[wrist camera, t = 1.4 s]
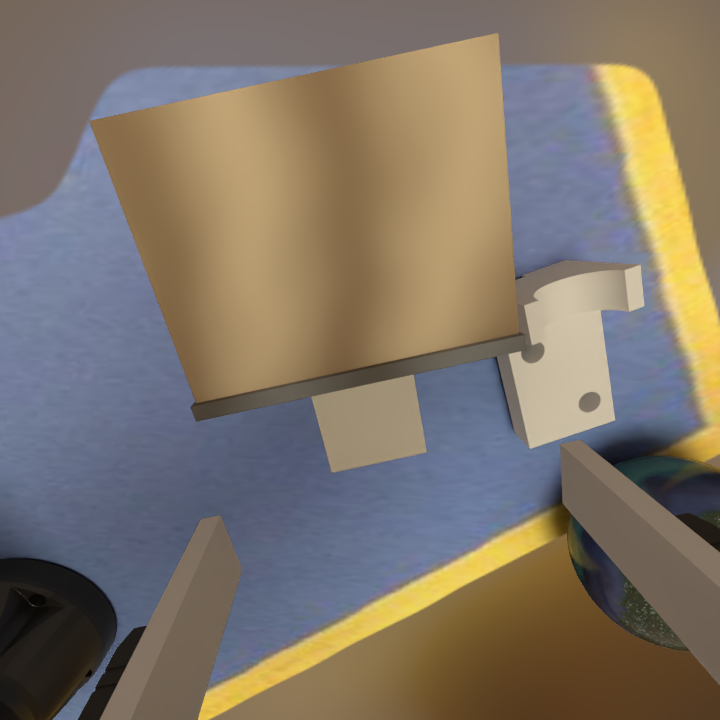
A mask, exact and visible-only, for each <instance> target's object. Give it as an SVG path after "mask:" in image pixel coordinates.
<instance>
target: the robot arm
mask: <svg viewBox="0 0 720 720" xmlns="http://www.w3.org/2000/svg"><path fill="white" fill-rule="evenodd" d="M560 449H561V477H562V503H563V505H564V506H565V507H566V508H567V509H568V510H569V511H570V513H571V514H572V515H573V516H574V517H575V518H576V520H577V521H578V522H579V523H580V524H581V525H582V526H583V528H584V529H585V530H586V531H587V532H588V533H589V535H590V536H591V537H592V538H593V539H594V540H595V542H596V543H597V544H598V545H599V546H600V547H601V548H602V550H603V551H604V552H605V553H606V554H607V555H608V557H609V558H610V559H611V560H612V561H613V562H614V563H615V565H616V566H617V567H618V568H619V569H620V570H621V572H622V573H623V574H624V575H625V576H626V577H627V579H628V580H629V581H630V582H631V583H632V584H633V585H634V587H635V588H636V589H637V590H638V591H639V592H640V594H641V595H642V596H643V597H644V598H645V599H646V601H647V602H648V603H649V604H650V605H651V606H652V607H653V609H654V610H655V611H656V612H657V613H658V614H659V616H660V617H661V618H662V619H663V620H664V621H665V622H666V624H667V625H668V626H669V627H670V628H671V629H672V631H673V632H674V633H675V634H676V635H677V636H678V638H679V639H680V640H681V641H682V642H683V643H684V644H685V646H686V647H687V648H688V649H689V650H690V651H691V653H692V654H693V655H694V656H695V657H696V658H697V659H698V661H699V662H700V663H701V664H702V665H703V666H704V668H706V670H707V671H708V672H709V673H710V675H711V676H712V677H713V678H714V679H715V680H716V681H717V683H718V684H719V685H720V529H719V528H718V527H716V526H715V525H714V524H712V523H710V522H707V521H705V520H703V519H701V518H699V517H697V516H695V515H693V514H691V513H685V514H680V515H675V516H674V515H673V514H672V513H670V512H669V511H668V510H667V509H665V508H664V507H663V506H662V505H660V504H659V503H658V502H657V501H655V500H654V499H653V498H652V497H650V496H649V495H648V494H647V493H646V492H644V491H643V490H642V489H641V488H639V487H638V486H637V485H636V484H634V483H633V482H632V481H631V480H629V479H628V478H627V477H626V476H624V475H623V474H622V473H621V472H620V471H618V470H617V469H616V468H615V467H613V466H612V465H611V464H610V463H608V462H607V461H606V460H605V459H603V458H602V457H601V456H600V455H598V454H597V453H596V452H595V451H594V450H592V449H591V448H590V447H589V446H587V445H586V444H585V443H584V442H582V441H581V440H577V441H572V442H568V443H563V444H560ZM241 572H242V568H241V565H240V563H239V560H238V558H237V555H236V553H235V550H234V548H233V545H232V543H231V540H230V538H229V535H228V533H227V530H226V528H225V525H224V523H223V520H222V518H221V515H219V516H214V517H209V518H204V519H201V520H200V522H199V524H198V526H197V528H196V530H195V532H194V534H193V536H192V538H191V540H190V542H189V544H188V546H187V548H186V550H185V552H184V554H183V556H182V558H181V559H180V561H179V563H178V565H177V567H176V569H175V571H174V573H173V575H172V577H171V579H170V581H169V583H168V585H167V587H166V589H165V591H164V593H163V595H162V597H161V599H160V601H159V603H158V605H157V607H156V609H155V611H154V613H153V615H152V617H151V619H150V621H149V623H148V625H147V626H143V627H138V628H134V629H133V630H132V631H131V632H130V634H129V635H128V636H127V637H126V638H125V640H124V641H123V642H122V643H121V644H120V645H119V647H118V648H117V649H116V651H115V653H114V655H113V657H112V658H111V660H110V662H109V664H108V666H107V668H106V669H105V670H106V672H105V674H103V675H102V677H101V678H100V680H99V682H98V684H97V686H96V690H95V692H93V693H92V695H91V697H90V698H89V700H88V702H87V704H86V706H85V707H84V709H83V711H82V713H81V715H80V717H79V718H78V720H198V716H199V713H200V710H201V706H202V703H203V700H204V696H205V693H206V690H207V686H208V683H209V680H210V676H211V673H212V670H213V666H214V663H215V659H216V656H217V653H218V649H219V646H220V643H221V639H222V636H223V633H224V629H225V626H226V623H227V619H228V616H229V613H230V609H231V606H232V602H233V599H234V596H235V592H236V589H237V586H238V582H239V579H240V576H241ZM115 634H116V620H115V616H114V612H113V610H112V608H111V606H110V604H109V602H108V601H107V599H106V598H105V597H104V595H103V594H102V593H101V592H100V591H99V590H98V589H97V588H96V587H95V586H94V585H92V584H91V583H90V582H88V581H87V580H86V579H84V578H83V577H81V576H79V575H77V574H75V573H74V572H72V571H69V570H67V569H65V568H62V567H59V566H56V565H53V564H49V563H45V562H41V561H35V560H25V559H10V560H0V720H52V719H53V718H54V717H55V716H56V715H57V714H58V713H59V712H60V711H61V709H62V708H63V707H64V706H65V705H66V704H67V703H68V702H69V700H70V699H71V698H72V697H73V696H74V695H75V693H76V692H77V691H78V689H80V688H81V687H82V686H83V685H84V684H85V683H86V682H87V681H88V680H89V679H90V678H91V677H92V676H93V675H94V673H95V672H96V671H97V669H98V668H99V666H100V665H101V663H102V661H103V659H104V658H105V656H106V654H107V652H108V650H109V649H110V647H111V645H112V643H113V641H114V638H115Z"/></svg>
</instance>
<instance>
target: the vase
mask: <svg viewBox="0 0 720 720" xmlns="http://www.w3.org/2000/svg"><path fill="white" fill-rule="evenodd" d="M612 466H613V467H615V468H616V469H617V470H618V471H620V472H621V473H622V474H623V475H624V476H626V477H627V478H628V479H629V480H631V481H632V482H633V483H634V484H636V485H637V486H638V487H639V488H641V489H642V490H643V491H644V492H646V493H647V494H648V495H649V496H650V497H652V498H653V499H654V500H655V501H657V502H658V503H659V504H660V505H662V506H663V507H664V508H665V509H667V510H668V511H669V512H670V513H672V514H673V515H674V516H675V515H680V514H685V513H691V514H693V515H695V516H697V517H699V518H701V519H703V520H705V521H707V522H710V523H712V524H714V525H715V526H716V527H718V528H719V529H720V468H717V467H715V466H712V465H709V464H706V463H703V462H700V461H697V460H693V459H687V458H681V457H674V456H643V457H637V458H633V459H629V460H625V461H622V462H619V463H617V464H614V465H612ZM567 540H568V548H569V553H570V557H571V560H572V564H573V566H574V569H575V571H576V574H577V576H578V578H579V579H580V581H581V583H582V585H583V586H584V588H585V590H586V591H587V593H588V595H589V596H590V597H591V599H592V600H593V601H594V602H595V603H596V605H597V606H598V607H599V608H600V609H601V610H602V611H603V612H604V613H605V614H606V615H607V616H608V617H609V618H610V619H611V620H612V621H613V622H615V623H616V624H618V625H619V626H620V627H622V628H623V629H625V630H626V631H628V632H629V633H631V634H632V635H634V636H636V637H638V638H640V639H643V640H645V641H647V642H649V643H652V644H654V645H657V646H661V647H665V648H669V649H673V650H678V651H690V650H689V649H688V648H687V647H686V646H685V644H684V643H683V642H682V641H681V640H680V639H679V638H678V636H677V635H676V634H675V633H674V632H673V631H672V629H671V628H670V627H669V626H668V625H667V624H666V622H665V621H664V620H663V619H662V618H661V617H660V616H659V614H658V613H657V612H656V611H655V610H654V609H653V607H652V606H651V605H650V604H649V603H648V602H647V601H646V599H645V598H644V597H643V596H642V595H641V594H640V592H639V591H638V590H637V589H636V588H635V587H634V585H633V584H632V583H631V582H630V581H629V580H628V579H627V577H626V576H625V575H624V574H623V573H622V572H621V570H620V569H619V568H618V567H617V566H616V565H615V563H614V562H613V561H612V560H611V559H610V558H609V557H608V555H607V554H606V553H605V552H604V551H603V550H602V548H601V547H600V546H599V545H598V544H597V543H596V542H595V540H594V539H593V538H592V537H591V536H590V535H589V533H588V532H587V531H586V530H585V529H584V528H583V526H582V525H581V524H580V523H579V522H578V521H577V520H576V518H575V517H574V516H573V515H572V514H571V513H570V514H569V518H568V526H567ZM690 652H691V651H690Z"/></svg>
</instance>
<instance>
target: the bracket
mask: <svg viewBox="0 0 720 720" xmlns="http://www.w3.org/2000/svg"><path fill="white" fill-rule="evenodd" d="M515 281H516V295H517V310H518V324H519V332H521V333H523V334H525V335H526V343H527V344H526V346H527V350H525V351H520V352H515V353H511V354H506V355H501V356H497V360H498V364H499V368H500V373H501V377H502V381H503V385H504V390H505V394H506V398H507V402H508V406H509V411H510V415H511V419H512V423H513V427H514V432H515V434H516V435H517V436H518V437H519V438H520V439H521V440H522V441H523V442H524V443H525V444H526V445H527V446H528V447H529V448H530V449H531V448H534V447H537V446H540V445H543V444H546V443H549V442H552V441H555V440H558V439H561V438H564V437H567V436H570V435H573V434H576V433H579V432H582V431H585V430H588V429H591V428H594V427H597V426H600V425H603V424H606V423H609V422H612V421H615V416H614V409H613V401H612V394H611V386H610V379H609V371H608V364H607V356H606V349H605V342H604V334H603V327H602V319H601V312H600V310H622V311H628V312H629V311H632V310H635V309H638V308H641V307H644V299H643V288H642V278H641V267H640V265H636V264H620V263H605V262H589V261H573V260H564V261H561V262H558V263H555V264H553V265H550V266H547V267H544V268H541V269H538V270H536V271H533V272H530V273H527V274H524V275H522V278H519V279H517V280H515Z"/></svg>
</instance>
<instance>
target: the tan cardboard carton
mask: <svg viewBox="0 0 720 720" xmlns="http://www.w3.org/2000/svg"><path fill="white" fill-rule="evenodd" d="M312 401H313V405H314V408H315V412H316V416H317V420H318V423H319V427H320V431H321V434H322V438H323V442H324V446H325V449H326V453H327V457H328V460H329V464H330V468H331V472H332V473H334V472H339V471H343V470H348V469H352V468H357V467H362V466H366V465H371V464H375V463H380V462H385V461H389V460H394V459H398V458H403V457H408V456H412V455H417V454H422V453H426V452H427V451H426V445H425V439H424V433H423V427H422V422H421V416H420V410H419V404H418V398H417V392H416V386H415V380H414V375H409V376H404V377H400V378H395V379H391V380H386V381H381V382H377V383H372V384H367V385H363V386H358V387H354V388H349V389H344V390H340V391H335V392H330V393H326V394H321V395H317V396H312Z"/></svg>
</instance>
